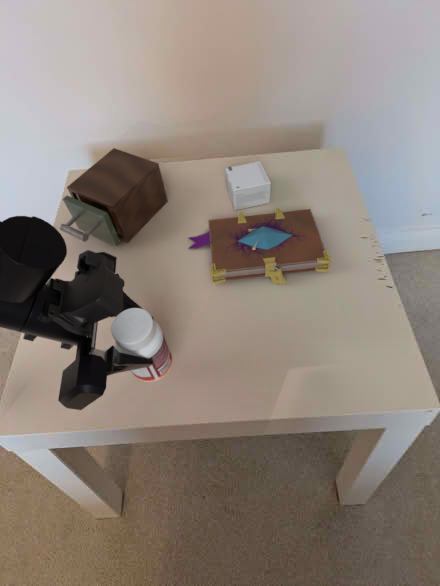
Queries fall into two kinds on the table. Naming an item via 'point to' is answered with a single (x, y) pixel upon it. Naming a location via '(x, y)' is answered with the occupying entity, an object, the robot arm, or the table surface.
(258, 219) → the book
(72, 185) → the cabinet
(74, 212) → the drawer
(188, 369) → the table surface
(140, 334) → the pill bottle
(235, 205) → the small box
